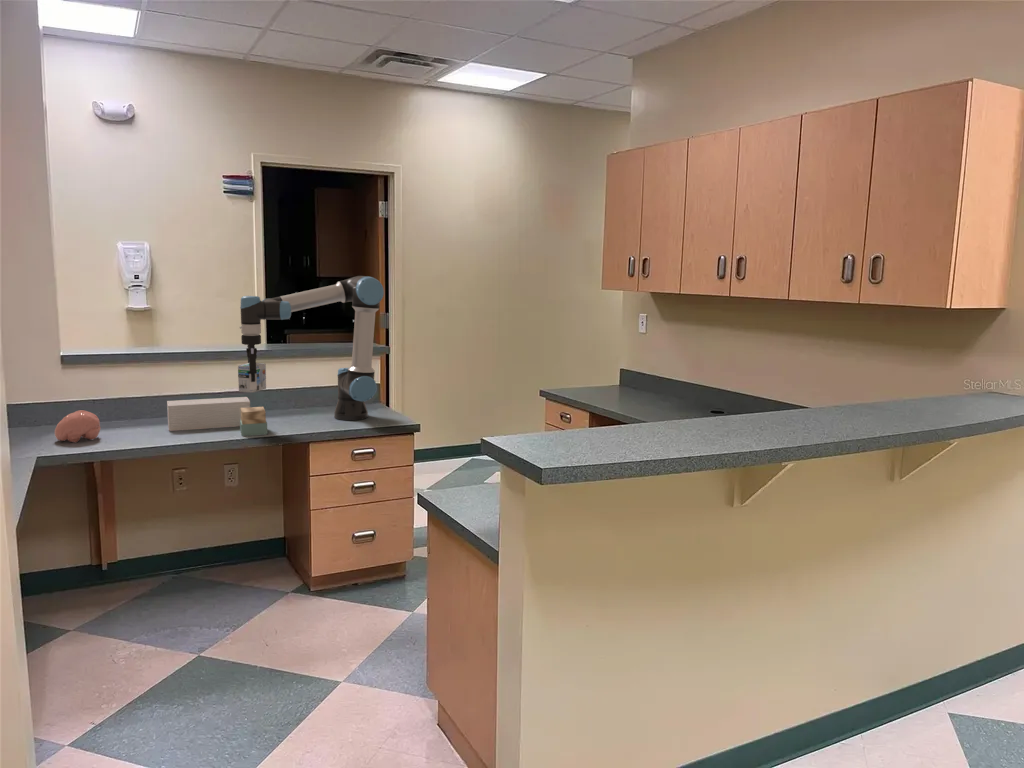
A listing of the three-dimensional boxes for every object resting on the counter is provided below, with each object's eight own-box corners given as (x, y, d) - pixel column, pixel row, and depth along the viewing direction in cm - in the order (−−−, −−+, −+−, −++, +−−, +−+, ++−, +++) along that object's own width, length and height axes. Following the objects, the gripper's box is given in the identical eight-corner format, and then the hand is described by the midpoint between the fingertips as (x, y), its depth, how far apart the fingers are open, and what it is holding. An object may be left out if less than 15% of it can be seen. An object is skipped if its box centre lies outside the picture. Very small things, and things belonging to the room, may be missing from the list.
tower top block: (263, 418, 310) (263, 406, 309) (265, 422, 302) (265, 411, 301) (240, 419, 307) (240, 407, 306) (242, 424, 298) (242, 412, 298)
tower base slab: (265, 429, 312) (264, 417, 311) (267, 434, 303) (267, 423, 302) (240, 431, 308) (239, 419, 307) (241, 436, 299) (241, 424, 298)
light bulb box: (253, 393, 296) (252, 366, 295) (237, 391, 298) (237, 365, 296) (266, 388, 307) (266, 362, 305) (252, 387, 308) (251, 361, 306)
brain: (61, 455, 278) (44, 427, 274) (68, 446, 290) (51, 419, 286) (104, 436, 282) (87, 408, 278) (109, 428, 294) (93, 401, 290)
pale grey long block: (247, 420, 326) (247, 396, 324) (250, 425, 317) (250, 401, 315) (168, 425, 312) (167, 400, 310) (168, 431, 303) (167, 405, 301)
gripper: (240, 331, 308) (241, 381, 312) (242, 337, 286) (243, 392, 290) (259, 331, 311) (260, 381, 315) (262, 337, 289) (263, 391, 292)
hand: (252, 386), depth 302 cm, fingers closed on light bulb box, 12 cm apart
